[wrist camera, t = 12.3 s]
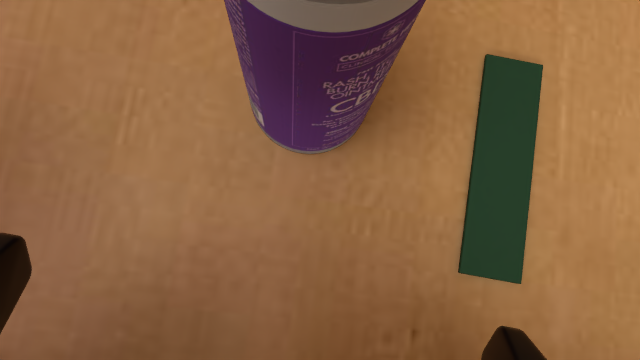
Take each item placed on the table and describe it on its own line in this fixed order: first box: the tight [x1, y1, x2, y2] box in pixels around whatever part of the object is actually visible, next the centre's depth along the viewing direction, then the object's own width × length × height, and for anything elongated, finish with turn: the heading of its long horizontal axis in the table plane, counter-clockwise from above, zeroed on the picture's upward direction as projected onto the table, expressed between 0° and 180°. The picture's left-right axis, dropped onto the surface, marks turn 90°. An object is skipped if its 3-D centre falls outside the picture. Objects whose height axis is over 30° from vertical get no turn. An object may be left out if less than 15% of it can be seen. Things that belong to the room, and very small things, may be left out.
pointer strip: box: [458, 54, 543, 284], centre depth 19 cm, size 9×2×1 cm, turn 170°
